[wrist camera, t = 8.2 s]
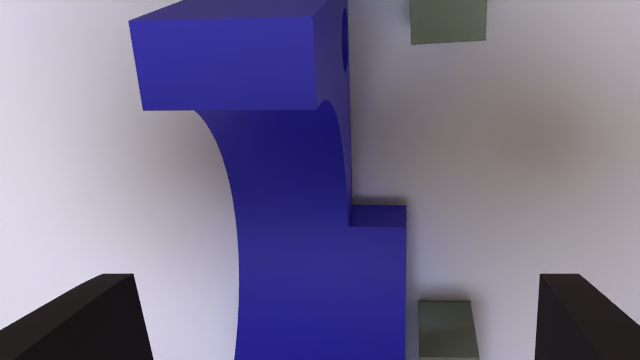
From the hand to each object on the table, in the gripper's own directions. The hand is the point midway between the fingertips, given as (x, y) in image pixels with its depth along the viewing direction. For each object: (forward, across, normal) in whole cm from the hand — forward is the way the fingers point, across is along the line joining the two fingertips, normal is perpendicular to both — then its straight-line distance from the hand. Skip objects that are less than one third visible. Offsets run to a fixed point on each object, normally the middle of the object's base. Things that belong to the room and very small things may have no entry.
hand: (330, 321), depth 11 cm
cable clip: (+7, +1, +1) cm, 7 cm away
